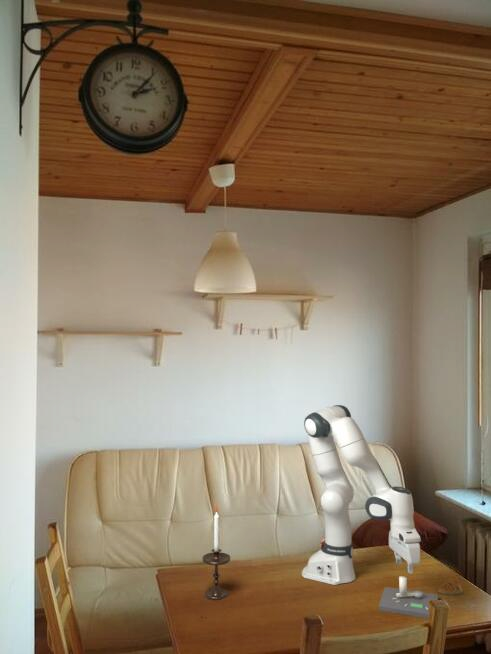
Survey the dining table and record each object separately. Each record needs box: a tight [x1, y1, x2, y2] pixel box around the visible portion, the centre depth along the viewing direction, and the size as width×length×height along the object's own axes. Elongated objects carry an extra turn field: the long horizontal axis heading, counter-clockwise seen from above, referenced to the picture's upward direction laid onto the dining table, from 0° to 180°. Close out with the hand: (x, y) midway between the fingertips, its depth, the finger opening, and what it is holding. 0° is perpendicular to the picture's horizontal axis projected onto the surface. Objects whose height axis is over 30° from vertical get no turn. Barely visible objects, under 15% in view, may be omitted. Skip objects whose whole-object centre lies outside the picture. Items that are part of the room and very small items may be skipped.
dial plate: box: [378, 586, 439, 620], centre depth 205 cm, size 20×18×2 cm
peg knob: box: [396, 575, 424, 598], centre depth 208 cm, size 10×4×7 cm, turn 99°
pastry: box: [437, 580, 463, 596], centre depth 216 cm, size 9×7×4 cm
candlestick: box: [202, 503, 231, 601], centre depth 214 cm, size 11×11×35 cm
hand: (404, 568), depth 207 cm, fingers open, 8 cm apart
